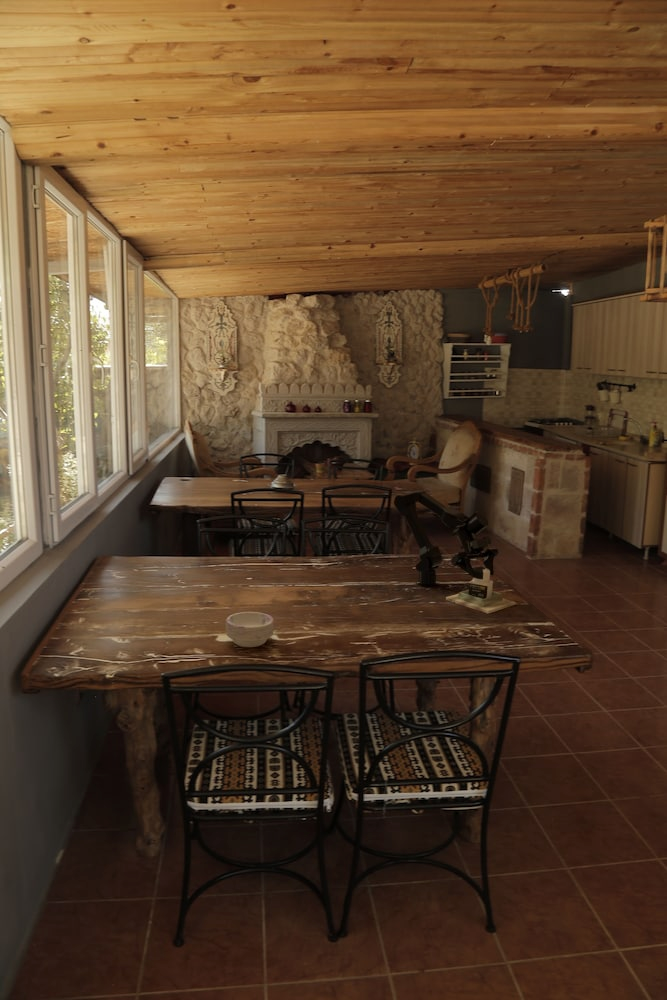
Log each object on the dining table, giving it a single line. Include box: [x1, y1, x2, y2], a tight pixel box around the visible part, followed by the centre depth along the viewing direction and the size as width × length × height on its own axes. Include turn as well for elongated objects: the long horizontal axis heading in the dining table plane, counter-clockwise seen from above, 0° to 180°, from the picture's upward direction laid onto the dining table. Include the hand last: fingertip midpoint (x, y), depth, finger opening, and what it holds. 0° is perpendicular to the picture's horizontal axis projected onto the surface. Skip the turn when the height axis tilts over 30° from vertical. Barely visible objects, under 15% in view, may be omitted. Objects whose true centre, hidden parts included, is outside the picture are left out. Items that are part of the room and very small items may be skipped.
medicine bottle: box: [468, 566, 494, 599], centre depth 285 cm, size 7×7×12 cm
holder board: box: [445, 589, 516, 614], centre depth 286 cm, size 20×16×4 cm
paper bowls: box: [225, 611, 275, 648], centre depth 243 cm, size 15×15×8 cm
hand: (483, 576), depth 283 cm, fingers open, 8 cm apart
